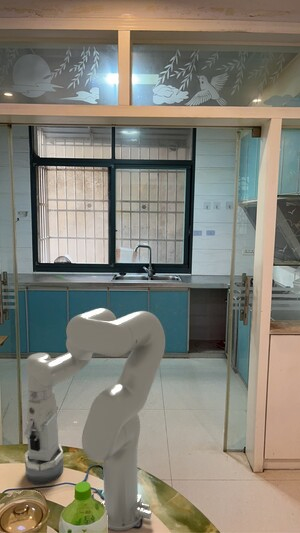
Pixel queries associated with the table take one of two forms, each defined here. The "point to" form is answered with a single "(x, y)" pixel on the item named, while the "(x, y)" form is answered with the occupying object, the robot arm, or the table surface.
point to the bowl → (44, 468)
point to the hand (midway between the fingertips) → (43, 441)
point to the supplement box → (46, 441)
